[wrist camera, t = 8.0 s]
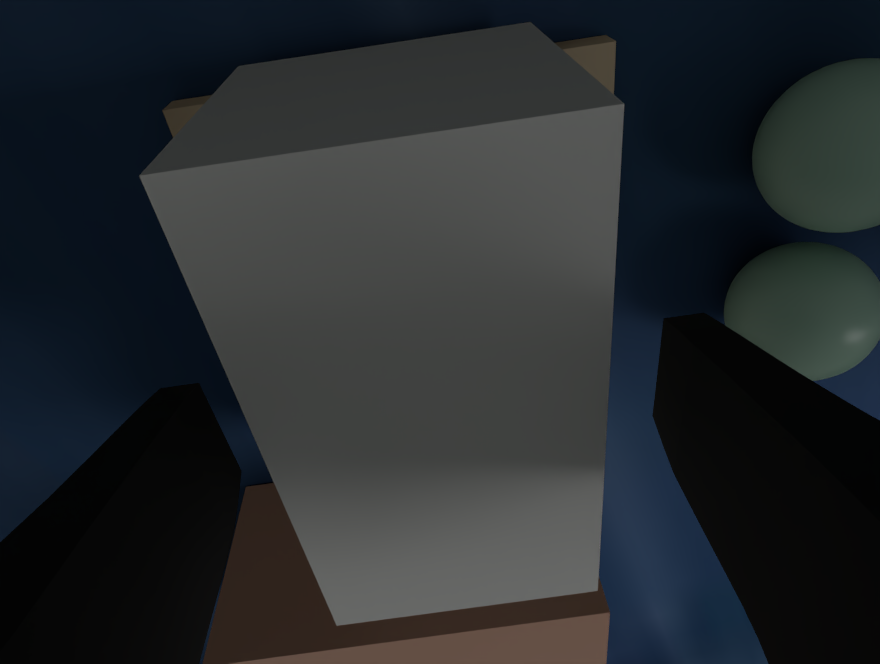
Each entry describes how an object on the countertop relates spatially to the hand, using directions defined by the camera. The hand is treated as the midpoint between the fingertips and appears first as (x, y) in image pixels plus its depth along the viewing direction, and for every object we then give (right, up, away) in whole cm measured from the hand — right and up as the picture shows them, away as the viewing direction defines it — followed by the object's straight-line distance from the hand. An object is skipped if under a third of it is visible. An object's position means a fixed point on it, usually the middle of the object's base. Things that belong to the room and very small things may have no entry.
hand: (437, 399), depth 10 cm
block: (0, +2, +3) cm, 4 cm away
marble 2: (+8, +2, +5) cm, 9 cm away
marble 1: (+7, +5, +3) cm, 9 cm away
